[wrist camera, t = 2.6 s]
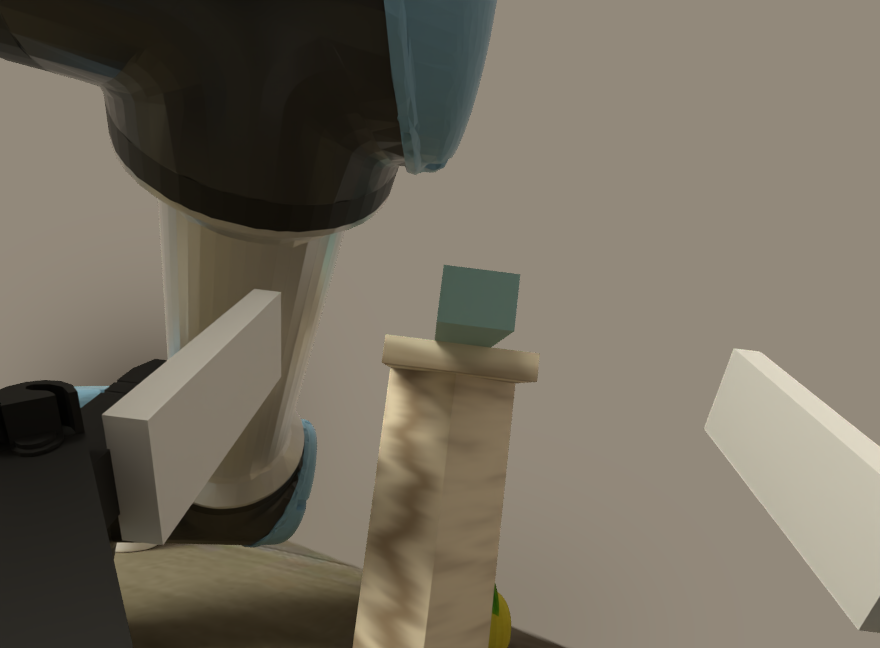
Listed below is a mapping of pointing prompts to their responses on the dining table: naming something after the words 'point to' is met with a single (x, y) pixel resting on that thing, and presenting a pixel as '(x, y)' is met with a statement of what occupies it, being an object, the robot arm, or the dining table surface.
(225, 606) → the dining table surface
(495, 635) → the lemon
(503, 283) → the bar
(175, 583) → the dining table surface
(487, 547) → the stand
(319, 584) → the dining table surface
